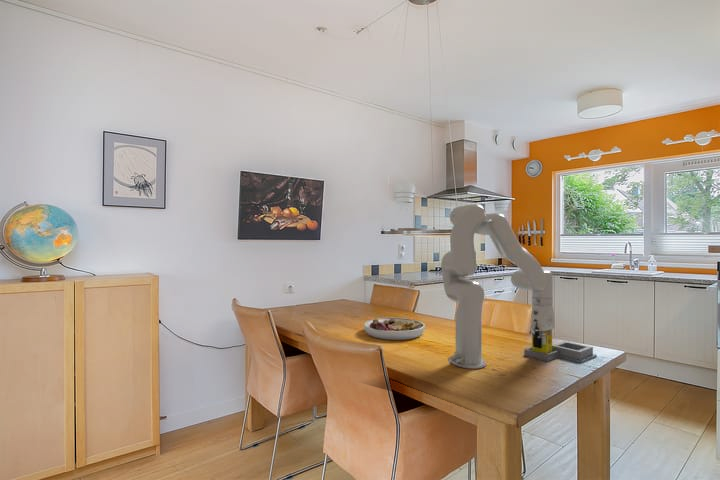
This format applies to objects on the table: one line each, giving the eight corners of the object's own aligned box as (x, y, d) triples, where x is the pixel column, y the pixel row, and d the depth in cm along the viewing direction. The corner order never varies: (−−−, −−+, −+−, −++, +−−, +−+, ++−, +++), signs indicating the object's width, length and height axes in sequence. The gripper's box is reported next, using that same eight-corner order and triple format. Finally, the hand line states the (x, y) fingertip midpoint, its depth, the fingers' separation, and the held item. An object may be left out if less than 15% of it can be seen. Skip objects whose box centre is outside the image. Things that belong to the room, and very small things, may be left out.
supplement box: (552, 355, 153) (552, 328, 153) (547, 359, 149) (547, 331, 149) (536, 352, 157) (536, 326, 157) (531, 356, 153) (531, 329, 153)
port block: (581, 363, 144) (581, 353, 144) (547, 354, 155) (547, 345, 155) (596, 356, 152) (596, 347, 152) (563, 349, 163) (563, 340, 163)
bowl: (384, 324, 211) (384, 310, 211) (434, 332, 193) (434, 316, 193) (352, 335, 187) (351, 319, 187) (406, 345, 169) (406, 328, 169)
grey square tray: (547, 361, 146) (547, 355, 146) (524, 355, 154) (524, 349, 154) (560, 356, 152) (560, 350, 152) (536, 351, 160) (536, 345, 160)
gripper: (540, 305, 145) (539, 352, 145) (562, 300, 155) (562, 344, 155) (521, 302, 151) (521, 347, 151) (544, 298, 161) (544, 340, 161)
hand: (542, 345), depth 153 cm, fingers closed on supplement box, 6 cm apart
